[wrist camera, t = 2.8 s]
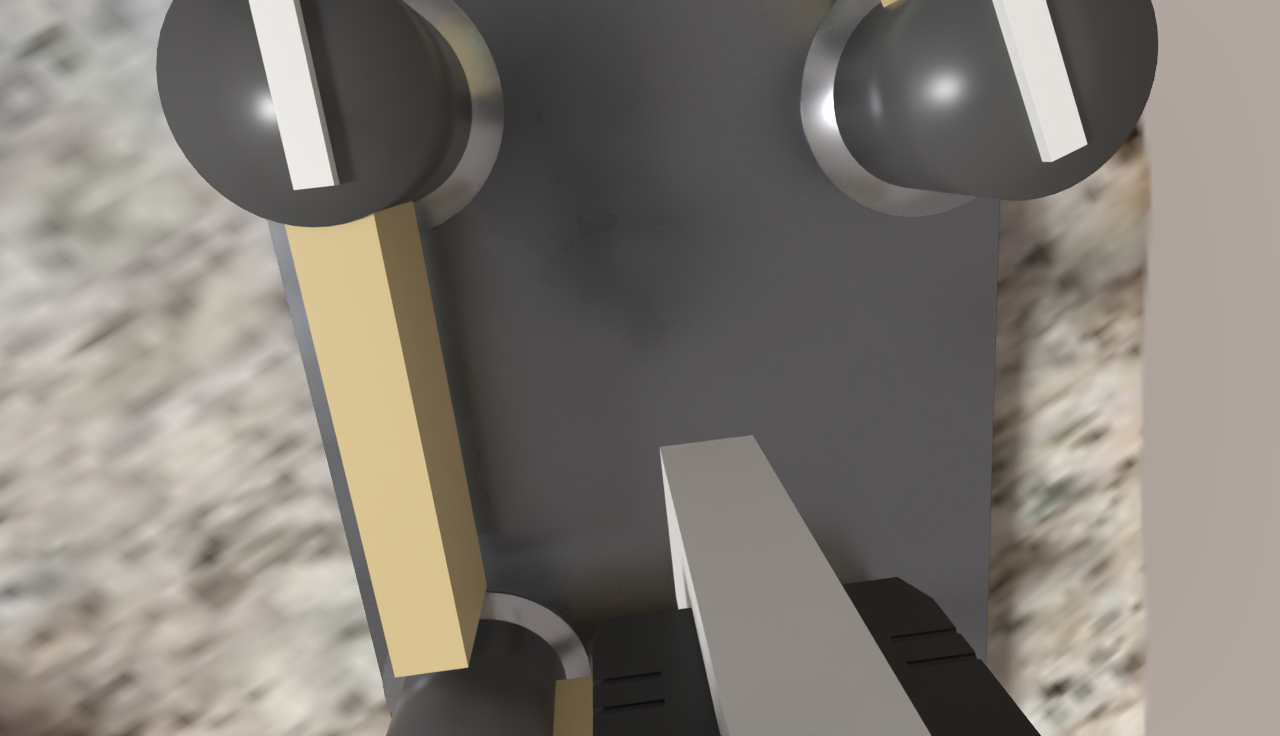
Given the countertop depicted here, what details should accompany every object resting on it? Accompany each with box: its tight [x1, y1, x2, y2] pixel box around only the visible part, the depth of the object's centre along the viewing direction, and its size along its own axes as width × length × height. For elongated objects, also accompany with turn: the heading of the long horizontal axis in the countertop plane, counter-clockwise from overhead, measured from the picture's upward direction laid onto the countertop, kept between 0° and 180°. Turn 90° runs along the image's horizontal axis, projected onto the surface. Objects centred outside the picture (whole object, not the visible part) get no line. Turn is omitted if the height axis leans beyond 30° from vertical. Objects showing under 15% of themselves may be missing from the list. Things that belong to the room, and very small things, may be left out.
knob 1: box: [156, 0, 487, 677], centre depth 16 cm, size 14×5×5 cm, turn 6°
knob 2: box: [386, 619, 593, 736], centre depth 19 cm, size 14×5×5 cm, turn 96°
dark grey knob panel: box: [267, 0, 1000, 717], centre depth 21 cm, size 28×19×2 cm
